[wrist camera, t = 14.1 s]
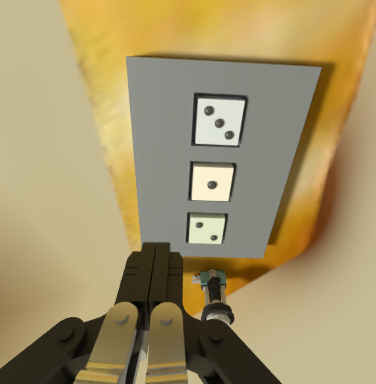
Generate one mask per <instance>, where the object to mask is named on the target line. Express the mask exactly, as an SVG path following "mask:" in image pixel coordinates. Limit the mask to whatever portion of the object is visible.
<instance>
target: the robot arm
mask: <svg viewBox="0 0 376 384" xmlns="http://www.w3.org/2000/svg"><path fill="white" fill-rule="evenodd" d="M182 299H183V258H182V256H181V254H180V253H179V252H171V251H170V242H143V245H142V249H141V252H138V251H133V252H132V254H131V255H130V256H129V257H128V259H127V262H126V266H125V269H124V273H123V276H122V280H121V283H120V287H119V291H118V294H117V298H116V301H115V304H114V306H113V307H111V308H110V309H109V311H108V312H107V313H106V314H105V315H103V316H101V317H99V318H96V319H93V320H90V321H87V322H83V321H82V320H81V319H80V318H77V317H70V318H66V319H64V320H62V321H60V322H59V323H58V324H56V325H55V326H54V327H52V328H51V329H50V330H49V331H47V333H45V334H44V335H42V336H41V337H40V338H38V339H37V340H36V341H35V342H33V343H32V344H31V345H30V346H28V347H27V348H26V349H25V350H23V351H22V352H21V353H20V354H18V355H17V356H16V357H14V358H13V359H12V360H11V361H9V362H8V363H7V364H6V365H4V366H3V367H2V368H1V369H0V384H135V381H136V376H137V372H138V367H139V363H140V358H141V353H142V348H143V346H142V345H143V339H144V332H145V331H150V335H149V354H148V369H147V373H146V382H145V384H188V378H187V369H188V370H190V371H193V372H195V373H197V374H198V376H199V378H200V379H201V381H202V382H203V383H204V384H281V382H280V381H279V380H278V379H277V378H276V377H275V376H274V375H273V374H272V373H271V371H270V370H269V369H268V368H267V367H266V366H265V365H264V364H263V363H262V362H261V361H260V360H259V358H258V357H257V356H256V355H255V354H254V353H253V352H252V351H251V350H250V349H249V348H248V347H247V345H246V344H245V343H244V342H243V341H242V340H241V339H240V338H239V337H238V336H237V335H236V333H235V332H234V331H233V330H232V329H231V328H230V327H229V326H228V325H227V324H226V323H225V322H223V321H222V320H219V319H209V320H206V321H205V322H203V321H200V320H198V319H195V318H193V317H191V316H190V315H189V314H188V313H187V312H186V311H185V309H184V307H183V301H182Z"/></svg>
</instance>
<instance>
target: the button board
mask: <svg viewBox="0 0 376 384" xmlns="http://www.w3.org/2000/svg"><path fill="white" fill-rule="evenodd" d="M126 64H127V76H128V88H129V100H130V113H131V125H132V137H133V149H134V162H135V174H136V186H137V198H138V211H139V223H140V235H141V248H142V245H143V242H170V251H171V252H179V253H180V254H181V256H198V257H235V258H263V256H264V253H265V250H266V246H267V243H268V240H269V237H270V233H271V230H272V227H273V224H274V220H275V217H276V214H277V211H278V208H279V204H280V201H281V198H282V195H283V191H284V188H285V185H286V182H287V179H288V175H289V172H290V169H291V166H292V162H293V159H294V156H295V153H296V149H297V146H298V143H299V140H300V137H301V133H302V130H303V127H304V124H305V120H306V117H307V114H308V111H309V107H310V104H311V101H312V98H313V95H314V91H315V88H316V85H317V82H318V78H319V75H320V72H321V69H322V67H315V66H304V65H286V64H267V63H249V62H230V61H212V60H193V59H174V58H156V57H137V56H129V57H126ZM198 95H208V96H228V97H241V98H242V99H243V100H244V101H245V103H244V109H243V115H242V121H241V127H240V133H239V139H238V145H216V144H196V143H195V127H196V111H197V96H198ZM193 161H204V162H229V163H232V165H233V168H234V169H233V175H232V181H231V187H230V193H229V199H228V201H205V200H192V193H191V190H192V174H193ZM190 212H199V213H224V215H225V223H224V229H223V235H222V241H221V244H202V243H189V221H190Z"/></svg>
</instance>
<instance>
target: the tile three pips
mask: <svg viewBox="0 0 376 384" xmlns="http://www.w3.org/2000/svg"><path fill="white" fill-rule="evenodd" d="M244 103H245V101H244V100H243V99H242V98H241V97H228V96H208V95H198V96H197V111H196V127H195V143H196V144H216V145H238V139H239V133H240V127H241V121H242V115H243V109H244Z"/></svg>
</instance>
